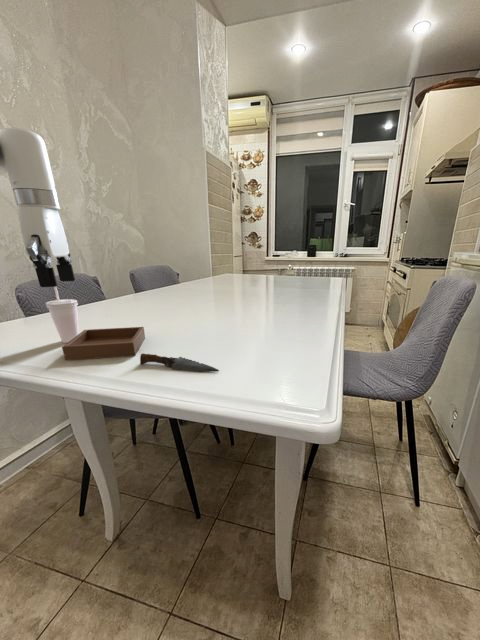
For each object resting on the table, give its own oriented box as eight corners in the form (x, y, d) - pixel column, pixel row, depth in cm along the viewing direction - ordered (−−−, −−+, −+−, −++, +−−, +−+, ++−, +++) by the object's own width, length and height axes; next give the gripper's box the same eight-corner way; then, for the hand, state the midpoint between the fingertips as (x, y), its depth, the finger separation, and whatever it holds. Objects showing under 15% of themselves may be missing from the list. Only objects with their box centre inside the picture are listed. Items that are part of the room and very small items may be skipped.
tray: (65, 360, 60) (61, 346, 59) (86, 341, 71) (84, 329, 70) (135, 355, 62) (133, 342, 61) (145, 338, 74) (143, 326, 73)
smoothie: (58, 338, 73) (44, 282, 69) (87, 335, 76) (75, 280, 71) (52, 345, 68) (36, 285, 63) (83, 342, 70) (70, 283, 66)
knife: (134, 356, 57) (152, 342, 60) (137, 364, 58) (155, 350, 61) (203, 381, 50) (219, 363, 54) (205, 389, 52) (221, 372, 55)
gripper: (38, 206, 68) (57, 279, 75) (-10, 195, 53) (19, 290, 59) (73, 206, 70) (89, 278, 76) (36, 195, 54) (60, 288, 60)
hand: (59, 283), depth 67 cm, fingers open, 9 cm apart
